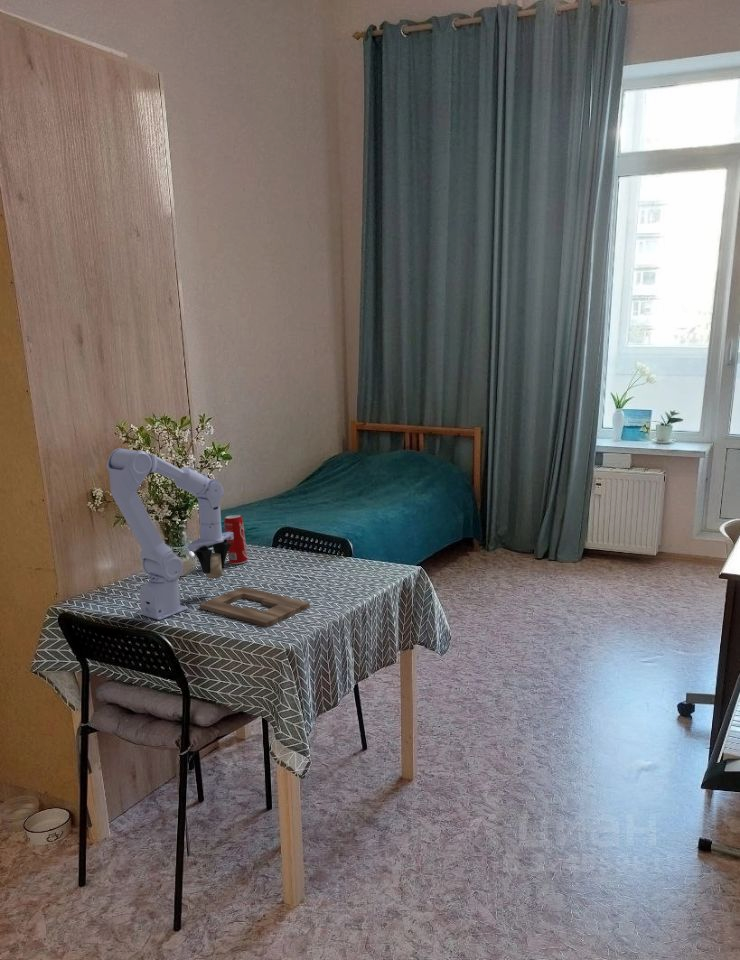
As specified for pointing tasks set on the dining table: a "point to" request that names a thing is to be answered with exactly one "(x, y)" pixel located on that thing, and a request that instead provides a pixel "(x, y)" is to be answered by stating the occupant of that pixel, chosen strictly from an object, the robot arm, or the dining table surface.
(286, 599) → the keyhole plate
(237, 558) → the beverage can
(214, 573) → the birch peg
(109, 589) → the dining table surface
